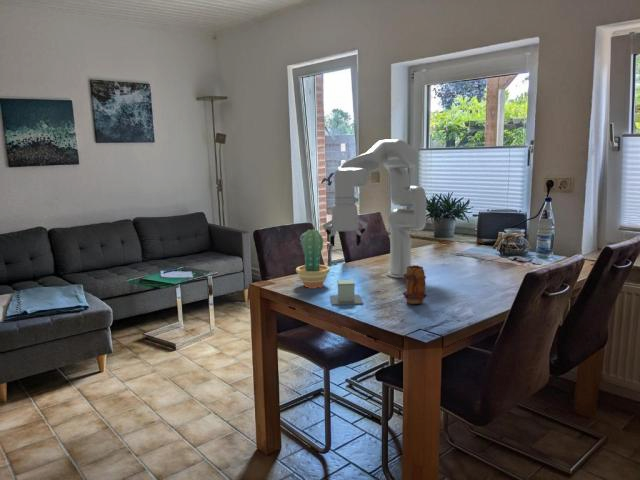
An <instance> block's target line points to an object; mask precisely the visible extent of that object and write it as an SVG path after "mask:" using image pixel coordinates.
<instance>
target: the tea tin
mask: <svg viewBox="0 0 640 480" xmlns="http://www.w3.org/2000/svg"><path fill="white" fill-rule="evenodd" d="M336 282H337V295H338V299H339V302H342V301H355V295H356V294H355V292H356V291H355V285H356V284H355V280H354V279H338V280H337V281H336Z"/></svg>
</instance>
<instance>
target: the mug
mask: <svg viewBox="0 0 640 480" xmlns="http://www.w3.org/2000/svg"><path fill="white" fill-rule="evenodd" d="M404 277H405V278H404V279H405V281H406V285H405V286H406V287H405V288H406V291H404V292H403V294H402V295H403V296H404V298H405V300H406V303H408V304H410V305H420V304H424V299H425V298H426V297H427V296H428V295H427V294H426V278H427V276H426V274H425V270H424V267H423V266H420V265H411V266H407V273H406V274H404Z"/></svg>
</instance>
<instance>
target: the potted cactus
mask: <svg viewBox="0 0 640 480" xmlns="http://www.w3.org/2000/svg"><path fill="white" fill-rule="evenodd" d="M299 241H300V245H302V251H303V253H304V265H300V266H297V267H295V268H296V269H295V271H296V273H297V275H298V277H299V280H300V281H301V282H302V284H303V287H304V286H305V287H309V288H308V289H318V288H317V287H320V288H323V287H324V282H325V281H326V280H327V276H328V274H329V273H330V269H331V267H330V266H328V265H325V264H320V263H321V254H322V251H323V247H324V239H323V236H322V234H320V232H319V231H318V230H317V229H314V228H313V229H307V231H305V232H304V233H302V234H301V235H300V237H299ZM322 286H323V287H322ZM305 287H304V288H305Z"/></svg>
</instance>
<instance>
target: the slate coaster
mask: <svg viewBox="0 0 640 480" xmlns="http://www.w3.org/2000/svg"><path fill="white" fill-rule="evenodd" d="M330 298H331V299H330ZM329 299H330V303H331V302H332V303H331V306H332V305H336V306H354V305H355V306H357V305H358V306H359V305H360V306H361V305H364V301H363V300H362V298H361V295H360V294H355V301H342V302H339V299H338V294H337V295H336V294H335V295H334V294H333V295H329Z"/></svg>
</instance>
